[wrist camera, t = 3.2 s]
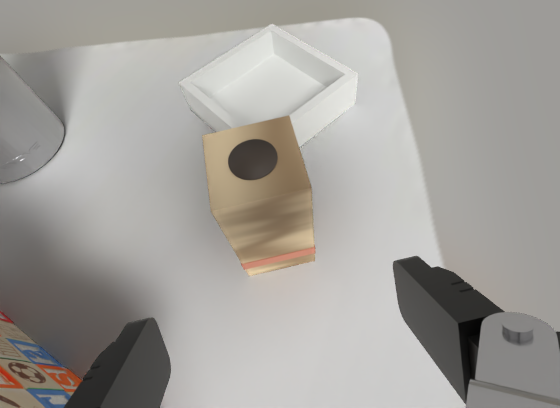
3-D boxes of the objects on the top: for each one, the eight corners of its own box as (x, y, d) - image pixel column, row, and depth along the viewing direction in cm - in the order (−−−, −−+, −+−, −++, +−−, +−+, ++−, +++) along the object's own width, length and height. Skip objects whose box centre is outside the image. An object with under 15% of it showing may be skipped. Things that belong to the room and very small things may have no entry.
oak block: (248, 276, 25) (209, 211, 16) (239, 217, 27) (200, 133, 19) (315, 261, 25) (312, 187, 16) (299, 203, 27) (289, 113, 19)
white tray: (191, 110, 34) (178, 82, 31) (275, 53, 37) (271, 23, 34) (263, 175, 29) (257, 149, 26) (355, 103, 32) (358, 73, 29)
